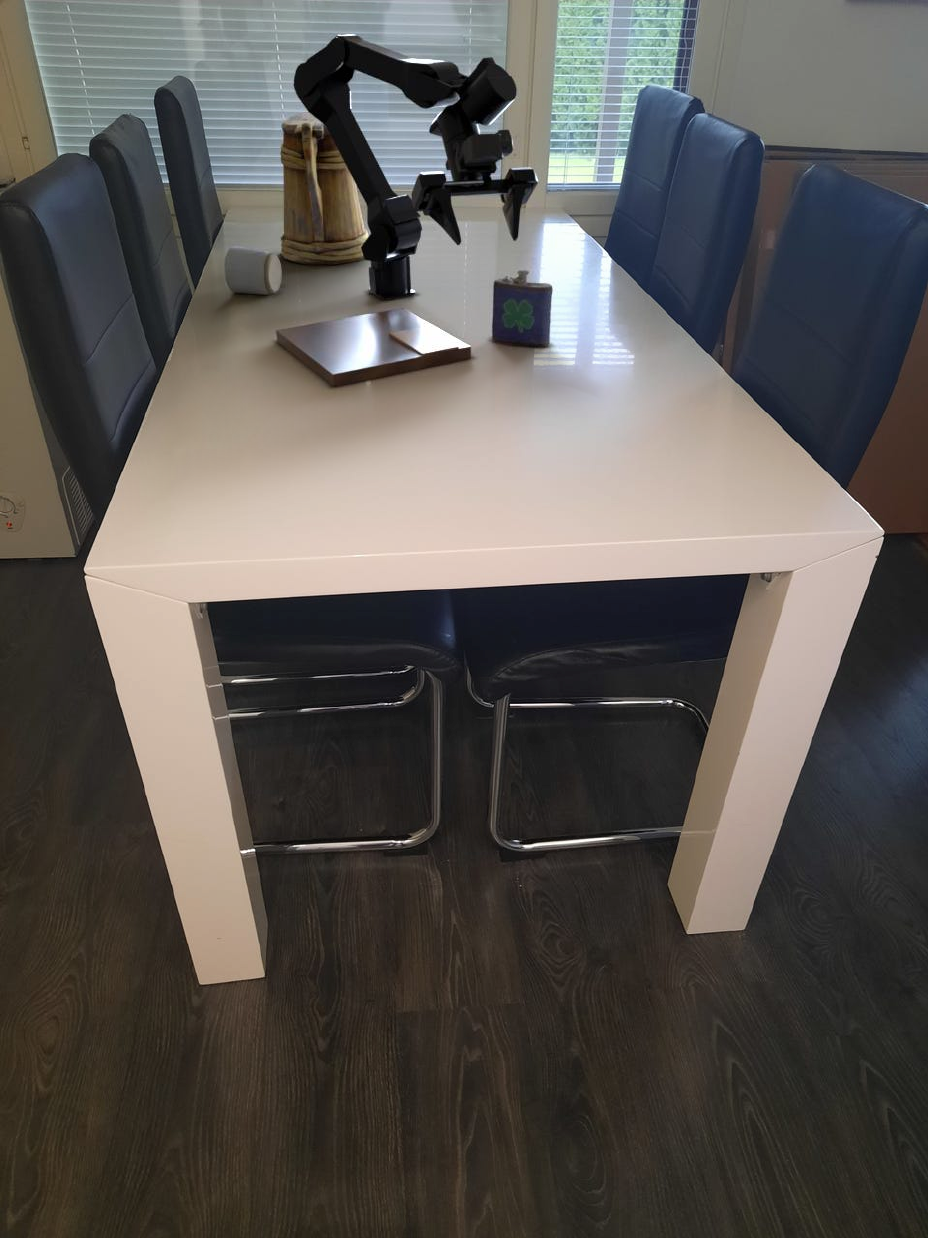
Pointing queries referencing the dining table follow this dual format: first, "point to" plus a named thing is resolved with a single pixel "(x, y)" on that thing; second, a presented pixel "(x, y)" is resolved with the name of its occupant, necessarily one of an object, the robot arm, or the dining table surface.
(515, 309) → the flask
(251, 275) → the ceramic mug
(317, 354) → the serving board
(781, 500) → the dining table surface
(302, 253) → the tankard
